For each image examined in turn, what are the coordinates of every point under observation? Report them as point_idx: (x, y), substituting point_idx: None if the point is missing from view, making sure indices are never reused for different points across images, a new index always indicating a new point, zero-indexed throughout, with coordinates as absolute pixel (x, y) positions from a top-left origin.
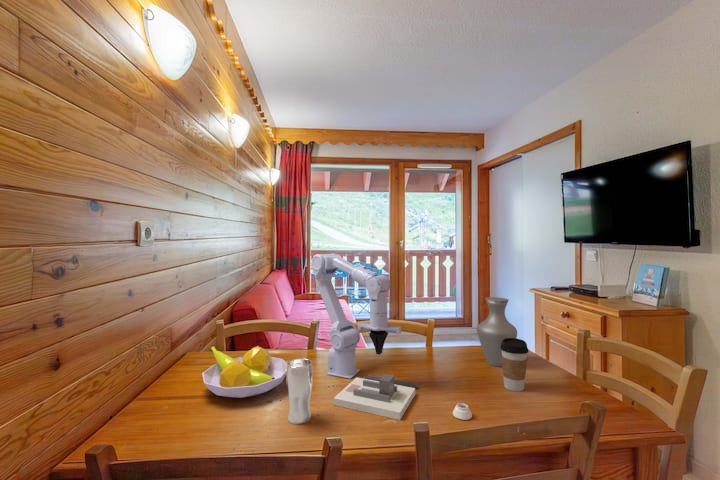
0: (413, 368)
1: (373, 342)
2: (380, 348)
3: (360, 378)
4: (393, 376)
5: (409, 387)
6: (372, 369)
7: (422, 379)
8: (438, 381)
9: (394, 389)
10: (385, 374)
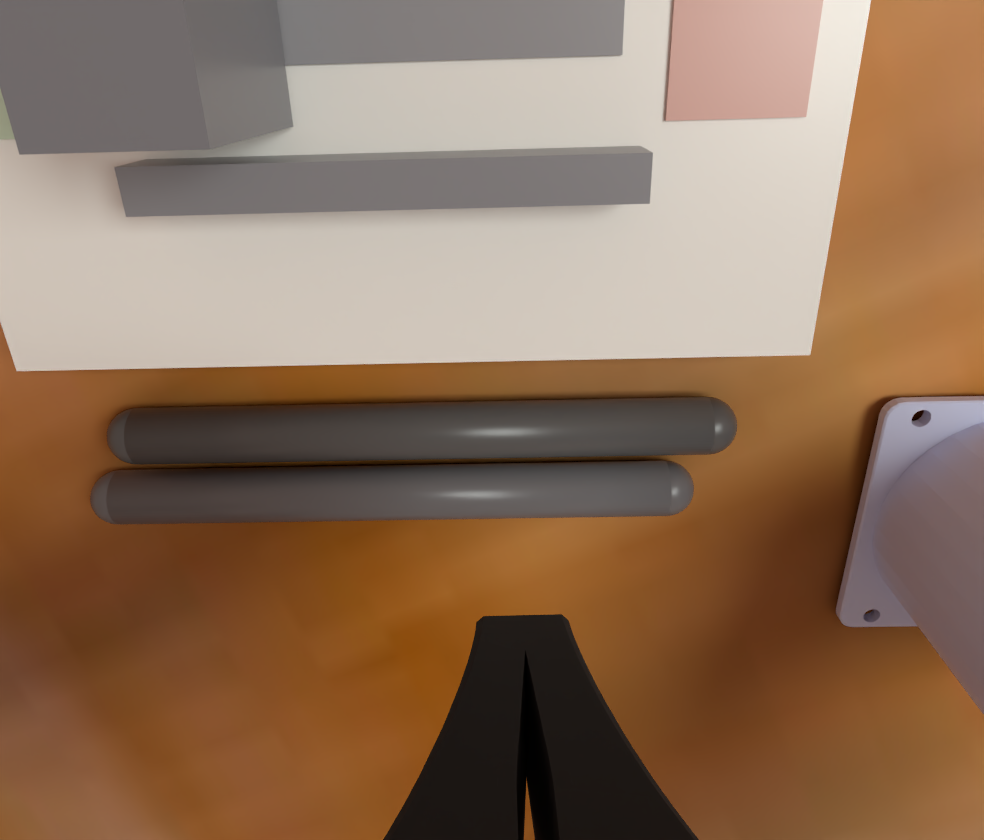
0: (352, 824)
1: (666, 822)
2: (449, 712)
3: (745, 343)
4: (9, 105)
5: (82, 360)
6: (713, 688)
7: (174, 669)
8: (30, 683)
9: (159, 162)
10: (186, 125)
